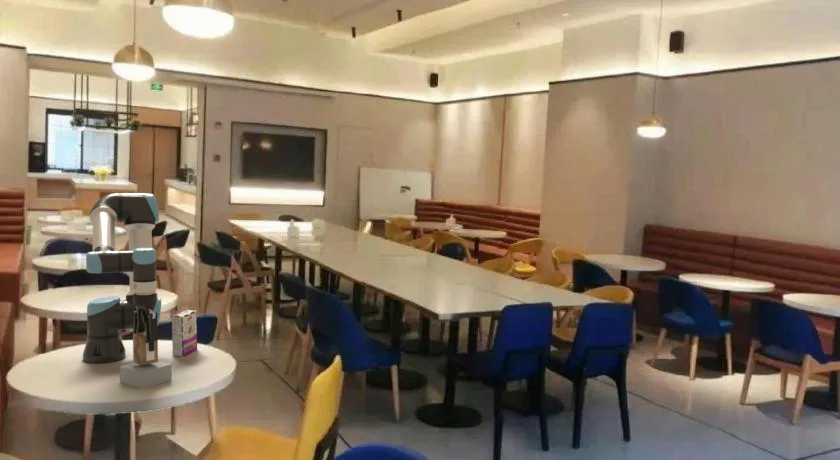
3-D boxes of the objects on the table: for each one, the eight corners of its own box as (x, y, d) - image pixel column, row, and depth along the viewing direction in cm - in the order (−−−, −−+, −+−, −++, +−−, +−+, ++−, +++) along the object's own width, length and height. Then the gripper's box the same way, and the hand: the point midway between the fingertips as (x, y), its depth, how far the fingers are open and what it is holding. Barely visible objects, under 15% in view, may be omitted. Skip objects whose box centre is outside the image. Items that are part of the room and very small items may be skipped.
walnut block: (133, 361, 241) (132, 333, 240) (150, 358, 246) (149, 330, 245) (141, 365, 237) (140, 336, 236) (157, 362, 242) (157, 334, 241)
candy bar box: (186, 348, 283) (186, 309, 282) (197, 349, 282) (197, 310, 281) (171, 356, 273) (171, 315, 271) (183, 357, 272) (182, 316, 270)
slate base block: (120, 383, 240) (119, 366, 240) (149, 374, 250) (149, 358, 250) (142, 389, 234) (142, 372, 233) (171, 380, 244) (171, 364, 244)
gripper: (121, 289, 243) (122, 353, 245) (147, 298, 230) (148, 366, 232) (142, 287, 248) (143, 350, 251) (168, 295, 235) (169, 361, 238)
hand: (145, 357), depth 241 cm, fingers open, 6 cm apart
